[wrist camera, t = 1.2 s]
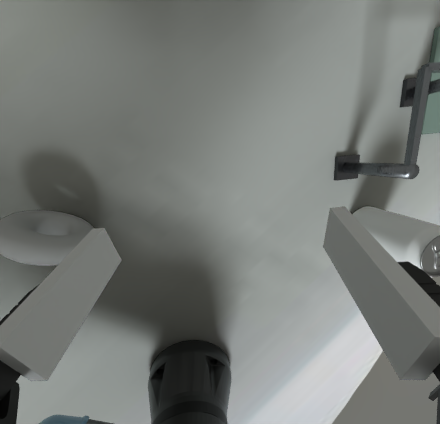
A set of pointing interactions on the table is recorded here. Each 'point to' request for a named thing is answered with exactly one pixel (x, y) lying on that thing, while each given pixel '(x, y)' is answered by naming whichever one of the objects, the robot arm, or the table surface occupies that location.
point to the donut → (41, 236)
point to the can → (404, 237)
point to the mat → (436, 103)
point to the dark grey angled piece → (416, 97)
